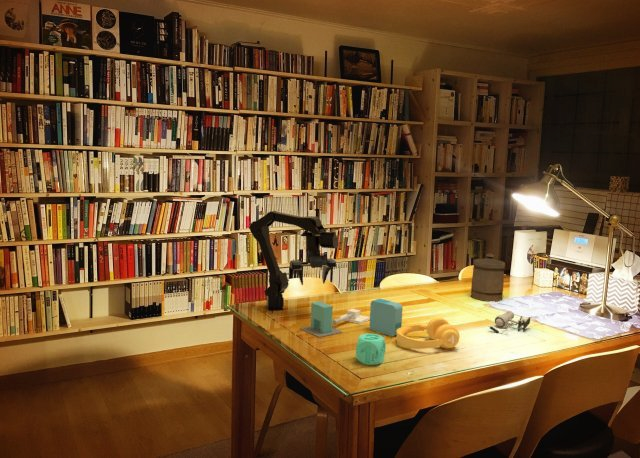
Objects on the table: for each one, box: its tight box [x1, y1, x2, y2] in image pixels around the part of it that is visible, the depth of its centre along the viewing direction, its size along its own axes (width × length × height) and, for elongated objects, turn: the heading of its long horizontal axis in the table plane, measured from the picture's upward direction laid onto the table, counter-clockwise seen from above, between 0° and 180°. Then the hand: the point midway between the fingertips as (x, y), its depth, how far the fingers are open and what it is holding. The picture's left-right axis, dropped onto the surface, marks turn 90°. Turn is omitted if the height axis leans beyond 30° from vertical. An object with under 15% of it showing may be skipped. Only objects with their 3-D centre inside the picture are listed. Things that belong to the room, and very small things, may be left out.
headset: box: [396, 316, 460, 350], centre depth 200 cm, size 18×21×9 cm
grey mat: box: [299, 325, 343, 338], centre depth 212 cm, size 12×11×1 cm
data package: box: [369, 298, 403, 337], centre depth 212 cm, size 12×4×12 cm, turn 47°
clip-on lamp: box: [487, 310, 531, 335], centre depth 221 cm, size 12×6×18 cm
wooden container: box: [470, 253, 506, 302], centre depth 270 cm, size 15×15×22 cm
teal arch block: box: [310, 300, 334, 334], centre depth 211 cm, size 8×4×10 cm, turn 37°
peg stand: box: [332, 308, 370, 325], centre depth 223 cm, size 10×19×4 cm, turn 145°
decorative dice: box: [355, 333, 387, 366], centre depth 182 cm, size 8×8×8 cm
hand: (313, 284), depth 231 cm, fingers open, 9 cm apart
